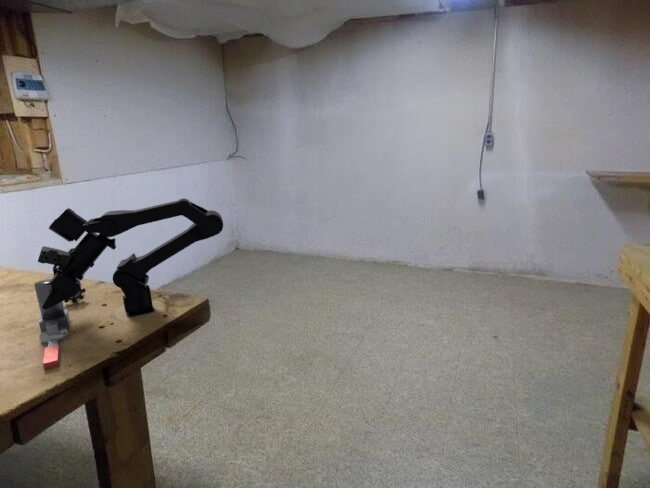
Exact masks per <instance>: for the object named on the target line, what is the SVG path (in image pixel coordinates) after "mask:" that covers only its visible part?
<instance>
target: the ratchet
mask: <svg viewBox="0 0 650 488" xmlns="http://www.w3.org/2000/svg"><path fill="white" fill-rule="evenodd" d="M46 330H47V331H45V332H43V333H41V332H40V334H39V339H40V343H41V344H42V345H47V347H45V348H44V353H43V361H42V365H43V371H49V370H54V369H57V368H59V367H60V360H61V359H60V358H61V357H60V356H61V355H60V354H61V350H60V345H59V344H60V342H63V341H64V340H66V339H68V337H69V332H68V328H63V327H59V328H58V324H57V321H53V322H49V323H46Z"/></svg>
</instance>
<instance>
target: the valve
mask: <svg viewBox="0 0 650 488" xmlns="http://www.w3.org/2000/svg"><path fill="white" fill-rule="evenodd" d="M76 279H77V278H76ZM78 280H79V279H78ZM79 281H80V280H79ZM86 291H87V290H86V288H85V287H83V288H81V291H80V292H79V293H78V294H77V295H76V296H73V297H70V298H68V299H66V300H64V301H63V303H68V302H69V301H72V304H77V302H78V299H79V300H84V299H85V296H84V295H82V293H83V294H84V293H85V292H86Z"/></svg>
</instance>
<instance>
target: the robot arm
mask: <svg viewBox="0 0 650 488" xmlns="http://www.w3.org/2000/svg"><path fill="white" fill-rule="evenodd" d="M180 216H183V217H185V218H187V219H188V220H189V221H191V225H190V226H189V227H188V228H187V229H185V230H183V231H181V232H180V233H178V234H177V235H175V236H174V237H172V238H170V239H168V240H167V241H165V242H164V243H162V244H160V245H158V246H156V248H154V249H151V251H149V252H147V253H145V254H144V255H141V256H137V255H136V254H135V253H132V254H131V255H130V256H128V257H127V258H125V259H121V261H120V262H119V263H118V265H117V266H116V269H115V271H114V272H113V275H112V282H113V284H114V286H116V288H119V289H120V290H121V291H122V294H124V295H122V301H123V307H124V312H125V313H126V314H127V316H128V317H133V316H138V315H139V316H140V315H143V314H148V313H151V312H154V311H155V308H154V305H153V300H152V292H151V288H150V285H148V283H149V278H150V276H149V275H148V273H149V272H150V271H151V270H152V269H153V268H155V267H157V266H158V265H160V264H162V263H163V262H165V261H167V260H168V259H169V258H172V257H173V256H175V255H177V254H178V253H179V252H182V251H183V250H184V249H186V248H189V247H190V246H191V245H193V244H195V243H197V242H199V241H204V240H208V239H210V238H212V237H215V236H217V235H219V234H220V233H221V232H222V231H223V228H224V221H223V218H222V215H221V214H220V213H219V212H217V210H216V211H215V210H208V209H206V208H204V207H202V206H200V205H198V204H196V203H194V202H192V201H191V200H189V199H187V198H180V199H178V200H175V201H170V202H169V201H168V202H165V203H161V204H156V205H153V206H152V205H151V206H148V207H144V208H140V209H135V210H134V209H133V210H132V209H131V210H127V209H126V210H123V209H121V210H109V211H107V212H105V213H103V214H102V215H101V216H100V217H95V218H91V219H90V218H89V220H86V219H85V218H83V217H82V216H80V215H79V214H77V213H76V212H75V211H74V210H73V209H71V208H70V207H68V208H66V209H65V210H64V211H63V212H62V213H61V214H59V216H58V217H57V218H56V219H54V220H53V221H52V222H51V224H50V225H49V227H48V230H50V231H51V232H53V233H54V234H56V235H58V236H59V237H61V238H62V239H64V240H65V241H67V242H69V243H70V242H74V241H75V242H78V240H80V238H81V237H82V236H83V235H84V234H85V233H86V234H85V235H84V236H83V238H82V239H81V240H80V241H79V242H78V244H77V245H76V246H75V247H72V248H70V249H69V250H68V251H66V250H62V249H57V248H55V247H50V246H42V247H41V250H40V253H39V255H38V260H37V262H38V263H39V264H48V265H53V266H52V272H53V277H52V278H51V279H52V280H51V282H50V285H51V288H52V290H51V292H50V293H49V295H48V297H47V299H46V300H45V302H44V304H43V306H42V308H43V309H45V310H47V309H49V308H51V307H52V306H54V305H56V304H58V303H60V302H64V300H66V299H68V298H73V296H75V297H77V296H78V295H79V292H80V291H81V289H82V283H81V281H82V280H83V279H84V275H85V274H86V273H87V272H88V270H90V268H93V266H95V262H96V261H97V260H98V258H99V257H100V256H101V255H102V253H104V251H105V250H106V249H107V248H110V249H111V250H115V249H116V248H117V244H116V240H117V239H116V237H115V236H118V235H121V234H123V233H126V232H127V231H129V230H131V229H133V228H136V227H138V226H143V225H146V224H149V223H151V224H152V223H154V222H159V221H163V220H168V219H171V218H176V217H180ZM114 237H115V238H114ZM76 278H77V279H76ZM78 279H79V280H78Z"/></svg>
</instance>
